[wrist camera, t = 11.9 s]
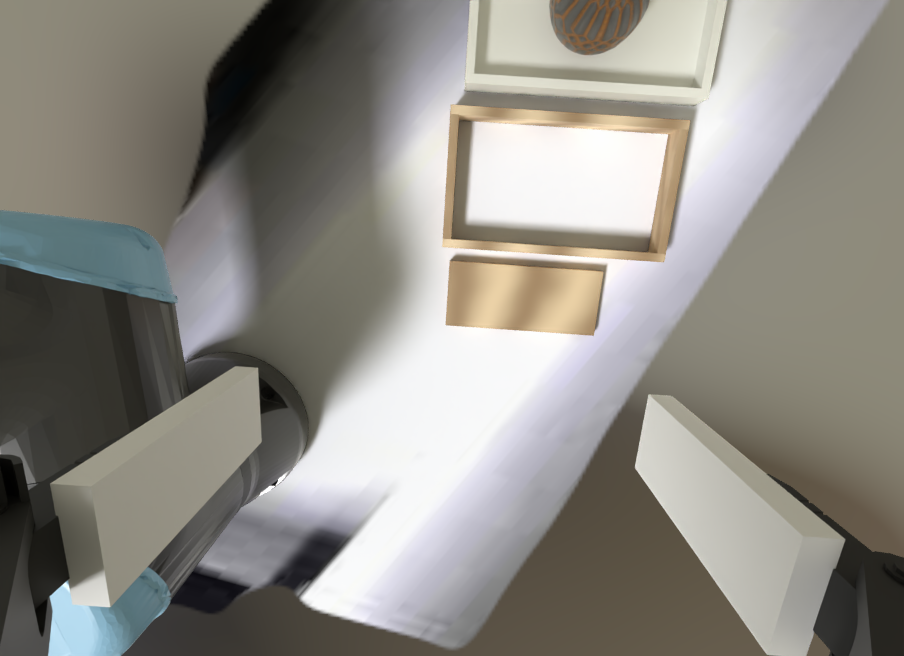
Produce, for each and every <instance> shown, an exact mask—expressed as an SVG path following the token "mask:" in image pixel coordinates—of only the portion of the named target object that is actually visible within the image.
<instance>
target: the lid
mask: <svg viewBox="0 0 904 656" xmlns="http://www.w3.org/2000/svg"><path fill="white" fill-rule="evenodd" d="M602 279H603V272H602V271H595V270H580V269H566V268H551V267H537V266H522V265H508V264H493V263H479V262H465V261H450V266H449V281H448V297H447V312H446V325H451V326H465V327H479V328H493V329H508V330H522V331H536V332H550V333H564V334H579V335H593V336H594V331H595V325H596V318H597V312H598V305H599V299H600V292H601V285H602Z"/></svg>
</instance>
